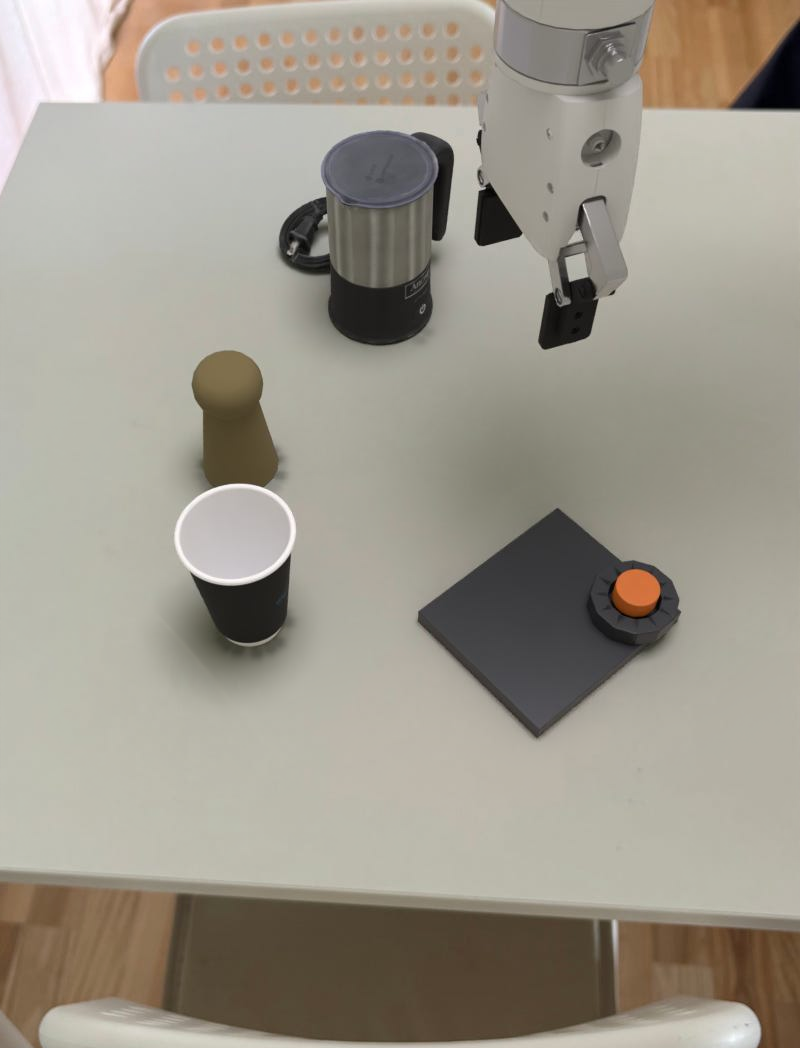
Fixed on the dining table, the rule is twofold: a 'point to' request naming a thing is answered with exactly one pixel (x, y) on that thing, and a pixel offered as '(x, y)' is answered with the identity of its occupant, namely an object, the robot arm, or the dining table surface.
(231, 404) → the brown pawn
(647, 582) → the power button
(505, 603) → the dark grey base plate
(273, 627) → the dixie cup
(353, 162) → the milk frother
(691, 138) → the dining table surface
